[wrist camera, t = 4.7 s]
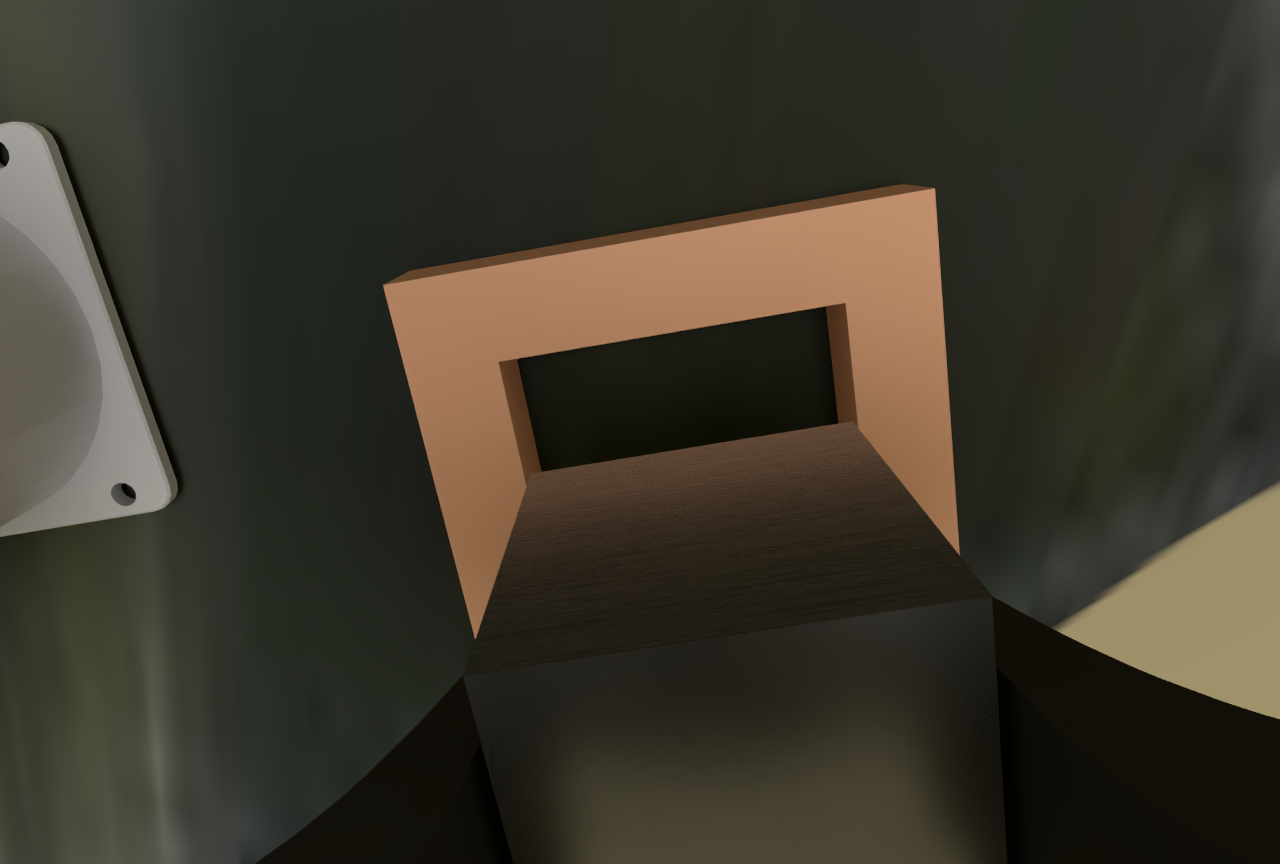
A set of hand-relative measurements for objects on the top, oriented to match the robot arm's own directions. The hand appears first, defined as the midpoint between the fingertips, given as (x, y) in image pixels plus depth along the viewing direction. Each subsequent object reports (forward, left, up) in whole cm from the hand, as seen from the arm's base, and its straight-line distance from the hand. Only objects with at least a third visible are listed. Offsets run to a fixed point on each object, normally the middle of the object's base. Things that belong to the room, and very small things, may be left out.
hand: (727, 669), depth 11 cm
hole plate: (0, 0, -8) cm, 8 cm away
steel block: (0, 0, -2) cm, 2 cm away
